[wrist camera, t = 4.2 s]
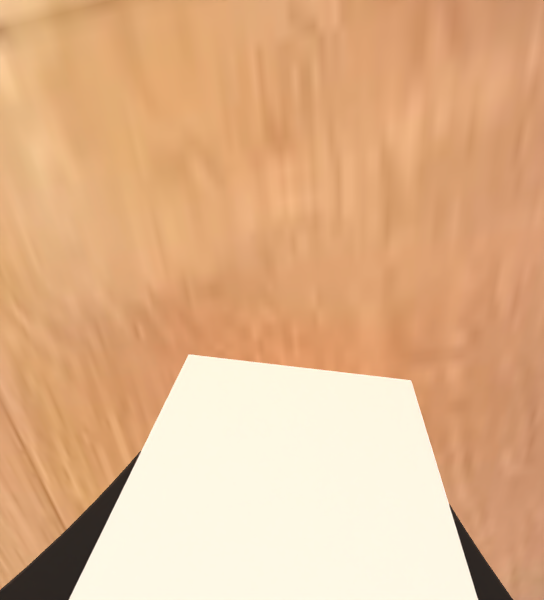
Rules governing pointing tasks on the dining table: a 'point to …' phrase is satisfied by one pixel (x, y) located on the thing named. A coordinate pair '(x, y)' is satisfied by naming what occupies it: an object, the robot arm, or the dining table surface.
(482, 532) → the dining table surface
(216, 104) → the dining table surface
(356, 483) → the cream block
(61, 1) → the dining table surface
